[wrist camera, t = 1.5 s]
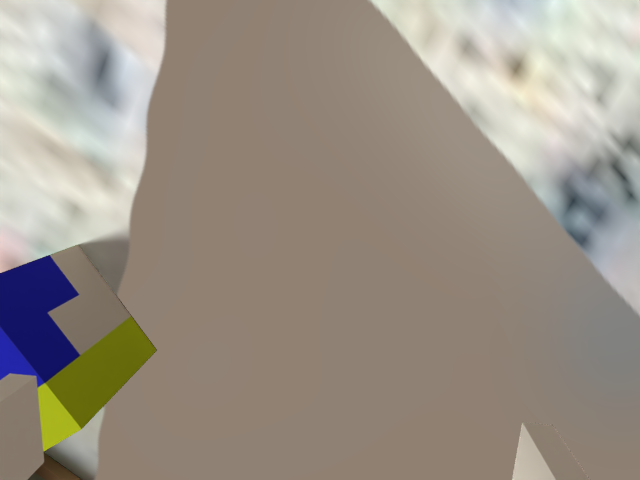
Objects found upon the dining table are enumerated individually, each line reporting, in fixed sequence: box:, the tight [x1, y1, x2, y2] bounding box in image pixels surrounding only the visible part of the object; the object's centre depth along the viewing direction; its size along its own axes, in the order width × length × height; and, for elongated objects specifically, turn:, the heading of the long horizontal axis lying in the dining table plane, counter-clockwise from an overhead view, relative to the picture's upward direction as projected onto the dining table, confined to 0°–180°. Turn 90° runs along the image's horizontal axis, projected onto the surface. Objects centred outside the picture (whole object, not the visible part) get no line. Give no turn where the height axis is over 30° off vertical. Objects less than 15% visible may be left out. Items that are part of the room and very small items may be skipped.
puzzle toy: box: [0, 245, 157, 452], centre depth 31 cm, size 10×10×10 cm
